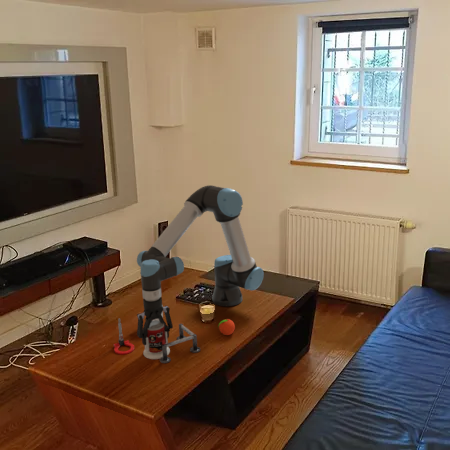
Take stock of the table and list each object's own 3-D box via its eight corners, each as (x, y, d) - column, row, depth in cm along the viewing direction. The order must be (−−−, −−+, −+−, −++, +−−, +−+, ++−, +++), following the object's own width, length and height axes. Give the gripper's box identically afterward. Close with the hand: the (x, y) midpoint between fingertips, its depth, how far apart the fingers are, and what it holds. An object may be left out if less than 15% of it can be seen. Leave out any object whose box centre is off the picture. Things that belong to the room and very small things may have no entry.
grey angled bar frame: (183, 335, 243) (182, 321, 241) (202, 350, 229) (201, 335, 227) (145, 348, 233) (144, 333, 231) (162, 364, 220) (161, 349, 218)
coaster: (162, 343, 237) (162, 342, 237) (174, 353, 228) (174, 352, 228) (139, 351, 231) (139, 349, 231) (150, 362, 222) (150, 360, 222)
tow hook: (137, 352, 231) (130, 342, 239) (134, 325, 227) (128, 315, 235) (117, 357, 228) (111, 346, 236) (114, 330, 223) (108, 320, 231)
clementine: (221, 339, 238) (220, 325, 236) (214, 333, 244) (214, 318, 242) (237, 335, 241) (237, 320, 239) (230, 329, 247) (230, 314, 245)
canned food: (144, 352, 226) (142, 328, 223) (151, 343, 233) (149, 319, 230) (162, 353, 224) (160, 329, 221) (168, 344, 232) (166, 320, 229)
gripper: (132, 307, 214) (137, 359, 221) (179, 294, 225) (182, 344, 231) (124, 301, 220) (129, 351, 227) (170, 288, 231) (174, 337, 237)
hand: (156, 347), depth 229 cm, fingers closed on canned food, 8 cm apart
